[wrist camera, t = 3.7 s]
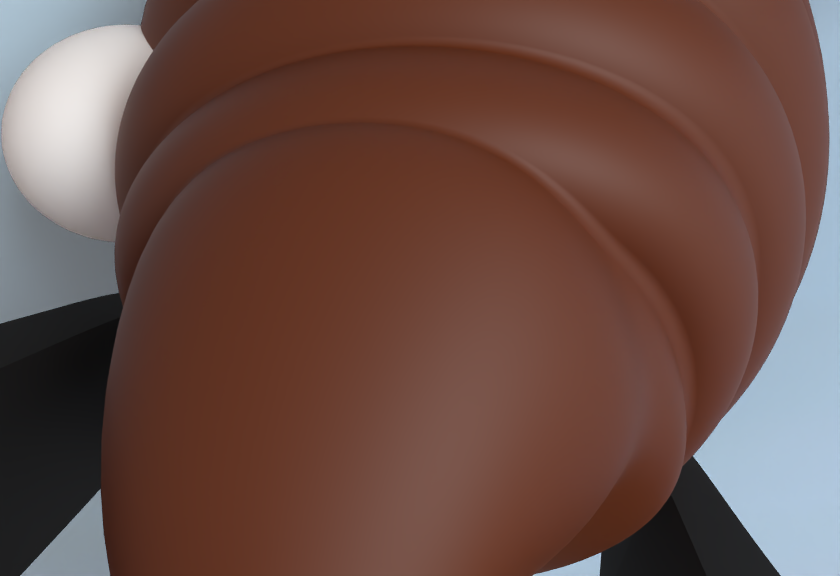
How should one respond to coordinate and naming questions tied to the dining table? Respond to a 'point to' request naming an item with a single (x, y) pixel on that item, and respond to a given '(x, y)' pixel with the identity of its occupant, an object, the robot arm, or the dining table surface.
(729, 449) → the dining table surface
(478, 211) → the poop emoji
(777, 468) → the dining table surface
